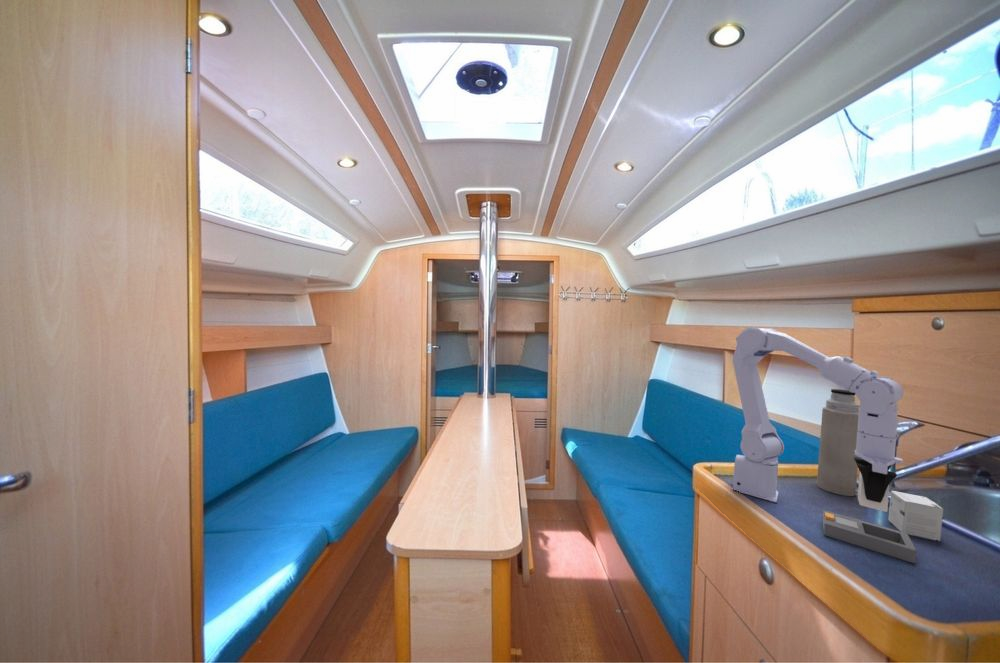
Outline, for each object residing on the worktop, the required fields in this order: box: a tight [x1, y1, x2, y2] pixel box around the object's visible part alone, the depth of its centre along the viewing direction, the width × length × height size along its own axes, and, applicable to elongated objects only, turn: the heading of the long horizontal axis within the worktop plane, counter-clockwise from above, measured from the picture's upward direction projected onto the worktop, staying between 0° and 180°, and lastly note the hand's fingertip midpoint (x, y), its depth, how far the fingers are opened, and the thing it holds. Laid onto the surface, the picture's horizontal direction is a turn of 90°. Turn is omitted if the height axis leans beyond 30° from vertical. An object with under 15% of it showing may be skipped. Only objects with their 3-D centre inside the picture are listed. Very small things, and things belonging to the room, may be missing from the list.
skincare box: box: [888, 490, 944, 542], centre depth 80 cm, size 6×6×7 cm
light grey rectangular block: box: [857, 472, 890, 513], centre depth 77 cm, size 4×4×7 cm
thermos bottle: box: [816, 388, 860, 497], centre depth 100 cm, size 8×8×28 cm
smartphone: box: [854, 488, 890, 507], centre depth 94 cm, size 8×15×1 cm, turn 56°
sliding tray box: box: [822, 509, 917, 564], centre depth 76 cm, size 13×8×3 cm, turn 50°
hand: (871, 496), depth 77 cm, fingers closed on light grey rectangular block, 4 cm apart
